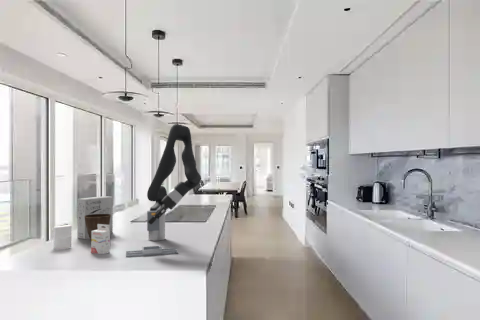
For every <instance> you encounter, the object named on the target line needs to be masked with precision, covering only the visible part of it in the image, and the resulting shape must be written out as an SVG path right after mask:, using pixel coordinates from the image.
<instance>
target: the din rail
mask: <svg viewBox="0 0 480 320" xmlns="http://www.w3.org/2000/svg"><path fill="white" fill-rule="evenodd" d="M176 254H178V249H177V247H169V248H163V246H162V245H150V246H142V247H141V249H139V250H138V249H137V250H126V251H125V258H133V257H135V258H136V257H146V256H148V257H149V256H150V257H151V256H160V255H163V256H164V255H176Z"/></svg>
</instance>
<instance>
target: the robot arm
mask: <svg viewBox="0 0 480 320" xmlns="http://www.w3.org/2000/svg"><path fill="white" fill-rule="evenodd" d="M177 141H179V142H183V145H184V147H183V150H182V152H181V161H182V165H183V167H184V168H183V170H184V175H185V176H184V177H186V180H185V181H179V182H178V183H177V184H176V185H175V186H174V187H173V188H172V189H171V190H170V191H168V193H167V189H166V187H165V186H163V183H164V182H165V181H166V180H167V178H169V176H170V175H171V174H172V173H173V171H174V169H175V166H176V164H177V157H176V153H175V146H176V145H175V144H176V142H177ZM201 182H202V176H201V174H200V173H199V172H198V169H197V162H196V158H195V156H194V152H193V143H192V133H191V130H190V128H189V127H188V126H186V125H182V124H176V123H175V124H174V123H173V125H171V128H170V129H169V133H168V137H167V139H166V144H165V148H164V150H163V154H162V156H161V157H160V161H159V163H158V167H157V169H156V172H155V174H154V177H153V179H152V181H151V183H150V185H149V186H148V189H147V193H146V197H147V199H148V201H150V202H155V203H154V204H153V205H152V206H151V207H149V211H156V214H155V215H154V216H153V217H152V218H151V219H150V220H149V223H150V224H152V223H153V222H154V221H155V220H156V219H159V231H148V240H149V241H152V242H153V241H155V242H156V241H163V240H165V239H166V212H167V209H169V210H170V211H171V210H173V209H174V208H175V207H176V206H177V205H178V204H179V202H181V200H182V199H183V198H184V197H185V196H186V195H187V194H188V192H191V190H193V189H194V188H196V187H197V186H198V185H200V183H201ZM158 211H159V212H158ZM157 214H158V215H159V216H157Z"/></svg>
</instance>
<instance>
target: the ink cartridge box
mask: <svg viewBox="0 0 480 320" xmlns="http://www.w3.org/2000/svg"><path fill="white" fill-rule="evenodd" d="M101 226H104V227H106V228H102V227H101ZM97 227H98V230H93V231H91V240H90V243H91V244H90V245H91V247H90V253H92V254H99V255H105V254H108V253H110V251H111V250H110V249H111V248H110V247H111V246H110V245H111V242H110V239H111V238H110V237H111V234H110V229H109V225H104V224H97Z"/></svg>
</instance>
